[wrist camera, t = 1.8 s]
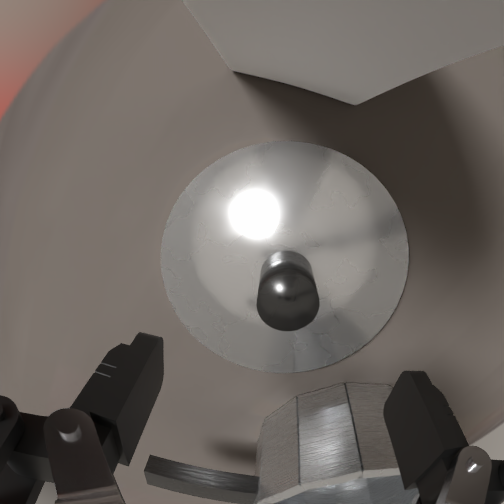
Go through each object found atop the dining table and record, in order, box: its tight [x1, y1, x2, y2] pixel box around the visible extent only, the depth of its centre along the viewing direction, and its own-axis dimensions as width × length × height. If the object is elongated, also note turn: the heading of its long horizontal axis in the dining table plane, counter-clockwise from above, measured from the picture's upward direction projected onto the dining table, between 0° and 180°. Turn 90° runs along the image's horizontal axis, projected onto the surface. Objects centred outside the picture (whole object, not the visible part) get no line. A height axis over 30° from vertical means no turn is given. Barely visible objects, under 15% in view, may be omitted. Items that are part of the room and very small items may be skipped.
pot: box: [144, 383, 419, 504], centre depth 19 cm, size 25×14×8 cm, turn 81°
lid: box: [161, 141, 409, 373], centre depth 16 cm, size 15×15×4 cm
